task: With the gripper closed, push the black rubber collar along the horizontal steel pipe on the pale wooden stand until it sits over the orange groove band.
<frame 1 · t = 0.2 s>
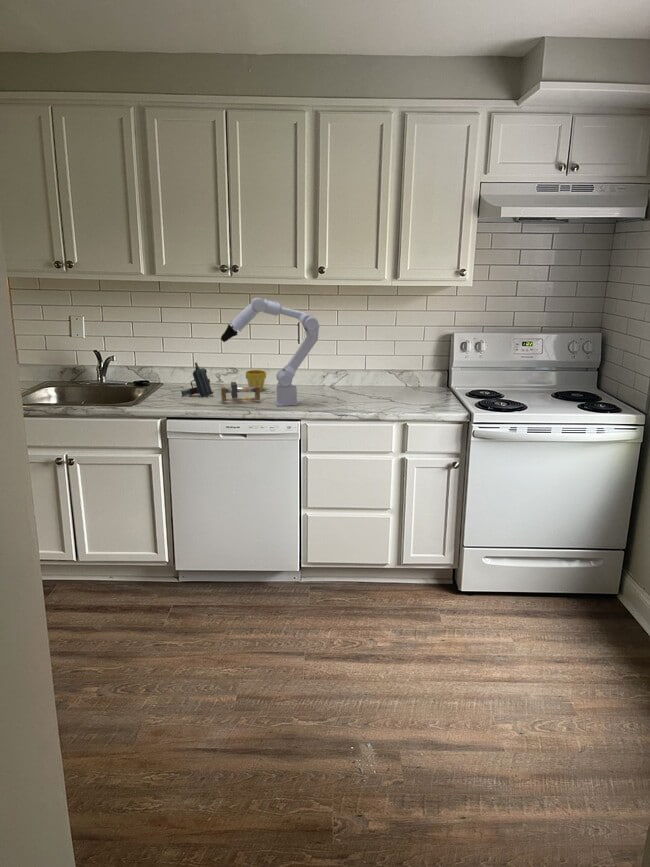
hand: (222, 339, 289), 31 cm above the table, tool tilted 45°, fingers open, 7 cm apart
plant pot: (256, 390, 329), on the table
collar: (234, 390, 303), point 6 cm above the table, slide at 0.0 cm
pipe stand: (240, 401, 306), on the table
gun: (197, 396, 316), on the table
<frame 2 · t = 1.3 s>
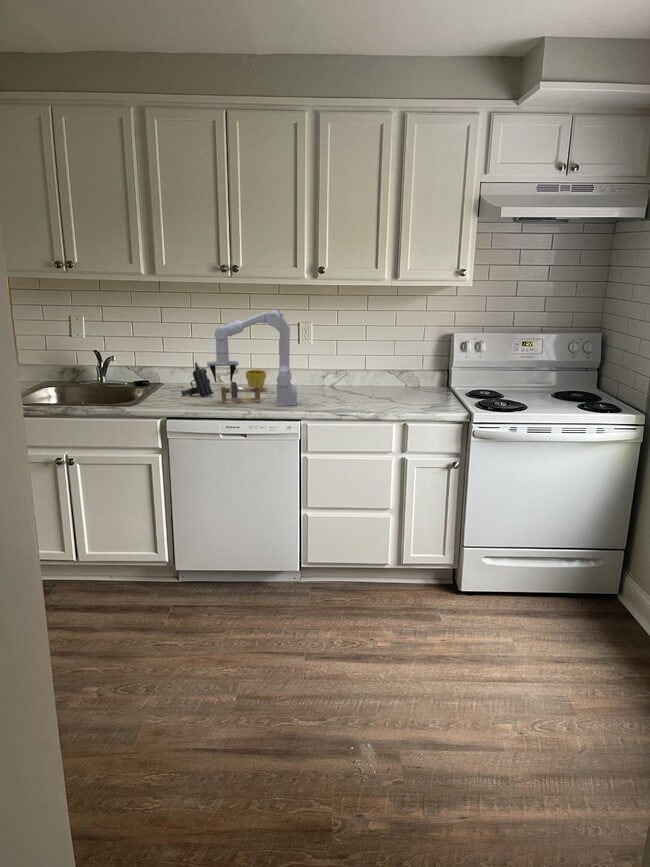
hand: (223, 381, 301), 10 cm above the table, tool pointing down, fingers open, 7 cm apart
nothing on the table moved.
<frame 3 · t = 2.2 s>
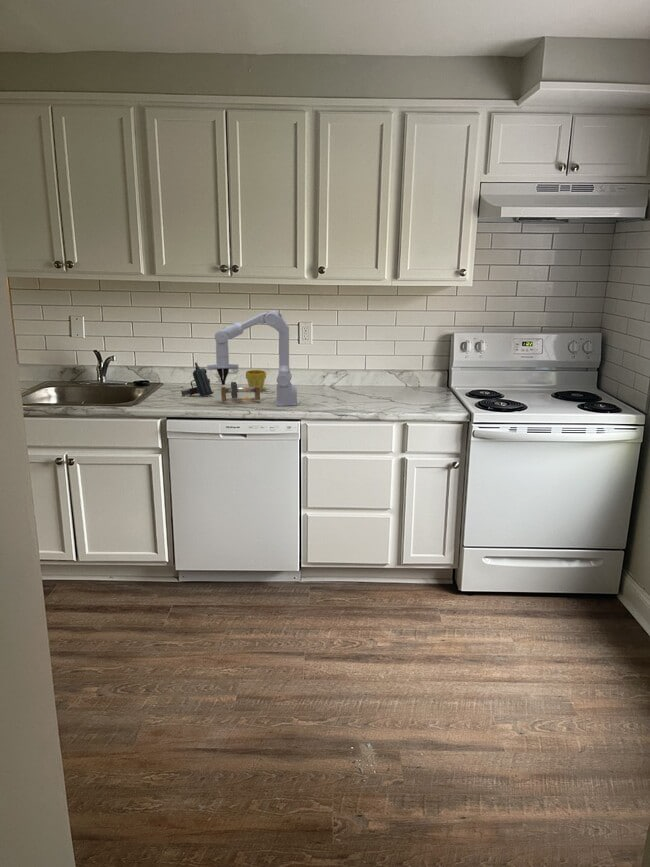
hand: (223, 384, 301), 9 cm above the table, tool pointing down, fingers closed
nothing on the table moved.
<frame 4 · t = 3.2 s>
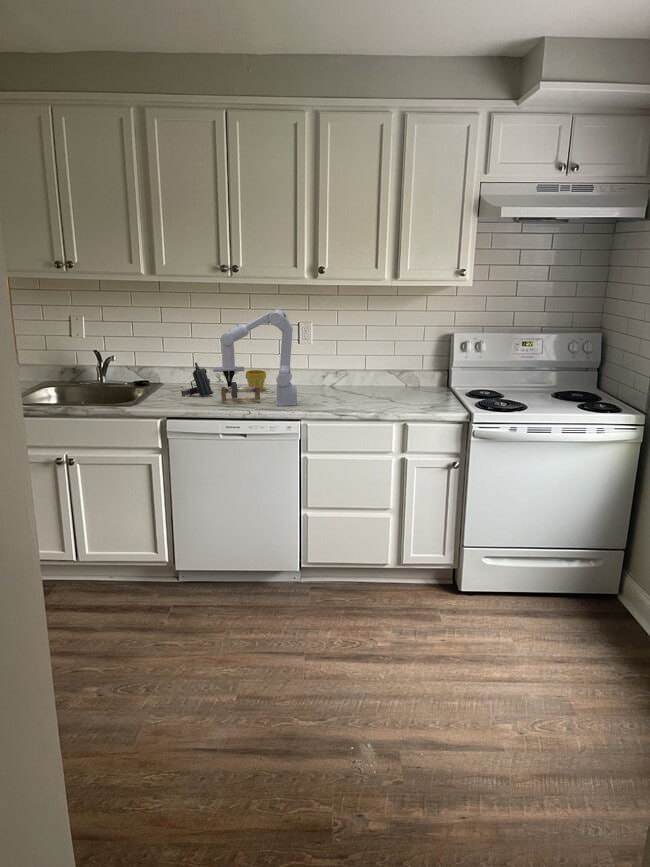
hand: (229, 386, 302), 8 cm above the table, tool pointing down, fingers closed
collar: (234, 390, 303), point 6 cm above the table, slide at 0.0 cm, touching gripper
everything else where it was.
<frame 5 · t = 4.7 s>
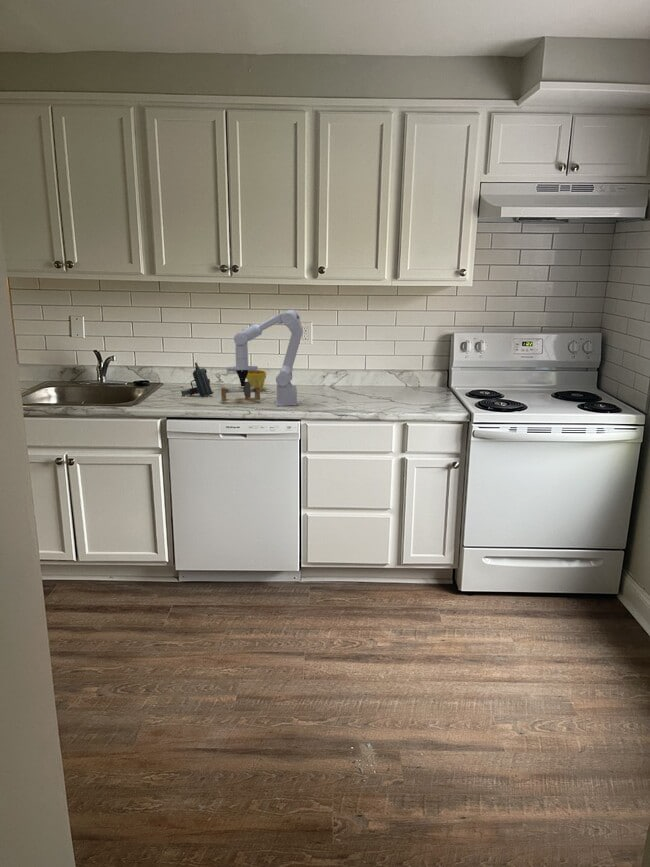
hand: (242, 386, 304), 8 cm above the table, tool pointing down, fingers closed
collar: (247, 389, 305), point 6 cm above the table, slide at 6.2 cm, touching gripper
everything else where it was.
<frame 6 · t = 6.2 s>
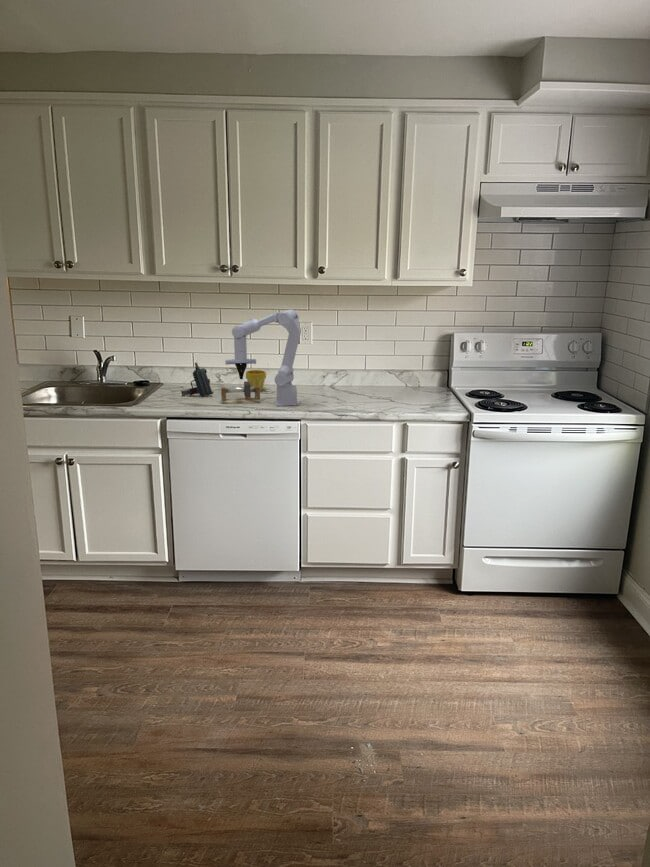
hand: (241, 378, 307), 10 cm above the table, tool pointing down, fingers closed
collar: (247, 389, 305), point 6 cm above the table, slide at 6.2 cm
everything else where it was.
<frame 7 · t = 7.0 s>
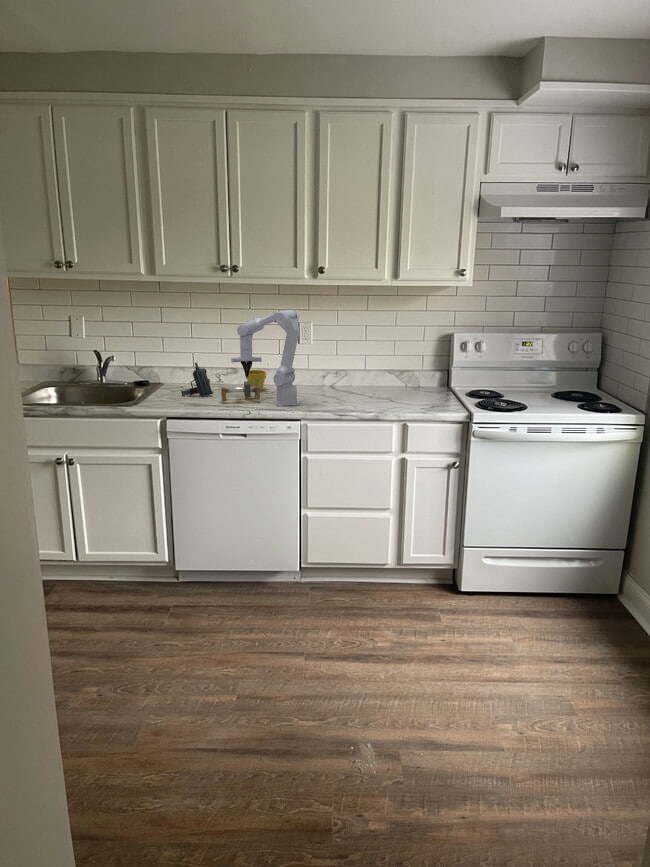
hand: (246, 376, 312), 10 cm above the table, tool pointing down, fingers closed
nothing on the table moved.
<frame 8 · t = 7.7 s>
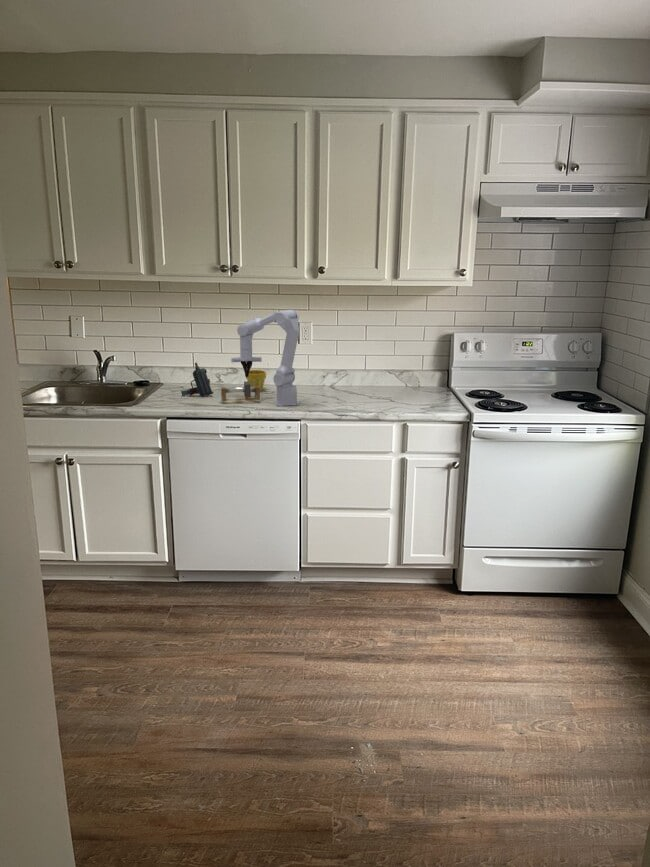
hand: (246, 376, 312), 10 cm above the table, tool pointing down, fingers closed
nothing on the table moved.
at the end: collar slide at 6.2 cm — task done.
